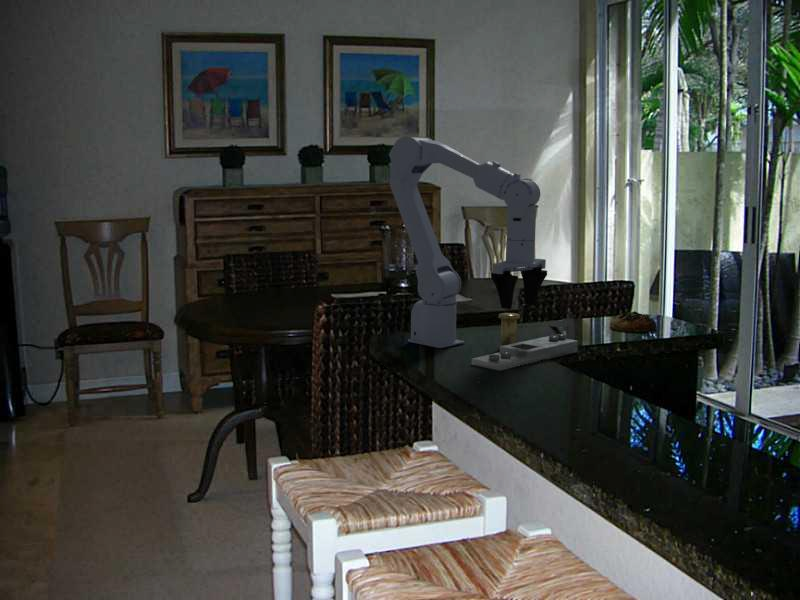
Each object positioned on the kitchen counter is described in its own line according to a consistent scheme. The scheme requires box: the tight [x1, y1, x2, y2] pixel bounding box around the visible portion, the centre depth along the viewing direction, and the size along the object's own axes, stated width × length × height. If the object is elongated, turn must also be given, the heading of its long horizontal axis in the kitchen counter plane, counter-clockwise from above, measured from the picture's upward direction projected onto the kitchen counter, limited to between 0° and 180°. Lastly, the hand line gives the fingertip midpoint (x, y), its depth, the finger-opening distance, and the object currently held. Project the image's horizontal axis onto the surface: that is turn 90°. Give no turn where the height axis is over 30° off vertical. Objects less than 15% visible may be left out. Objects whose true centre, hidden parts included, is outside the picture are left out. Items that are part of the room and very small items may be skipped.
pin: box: [498, 312, 521, 346], centre depth 198 cm, size 4×4×7 cm
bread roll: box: [609, 311, 657, 333], centre depth 222 cm, size 11×11×5 cm
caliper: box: [549, 312, 575, 340], centre depth 215 cm, size 20×1×6 cm, turn 3°
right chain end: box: [499, 333, 579, 360], centre depth 191 cm, size 7×17×3 cm, turn 135°
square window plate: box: [471, 351, 551, 372], centre depth 185 cm, size 7×16×2 cm, turn 135°
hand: (518, 306), depth 193 cm, fingers open, 7 cm apart
